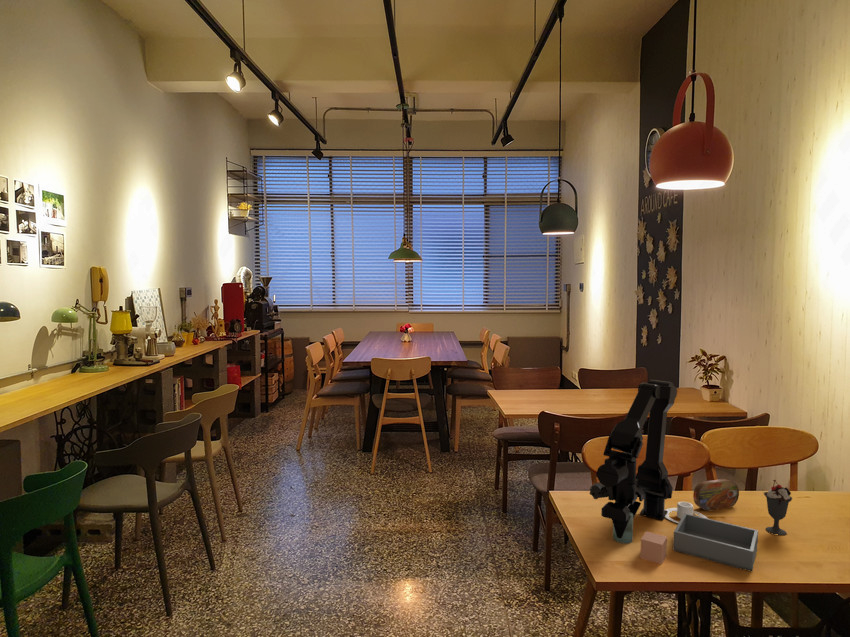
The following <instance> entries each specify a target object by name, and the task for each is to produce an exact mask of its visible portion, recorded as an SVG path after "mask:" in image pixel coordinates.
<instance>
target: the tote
mask: <svg viewBox="0 0 850 637" xmlns="http://www.w3.org/2000/svg"><path fill="white" fill-rule="evenodd" d="M707 518H708V517H707ZM707 518H703V517H699V516H697V515H695V514H693V515H690V514H686V513H684V515H683V516H682V518H681V519H680V520H679V521H678V522H679V523H677V525H676V527H675V528H674V531H673V541H672V542H673V543H672V545H673V546H672V551H675V552H677V553H680V554H681V553H682V554H685V555H688V556H693V557H695V558H700V559H704V560H707V561H711V562H714V563H718V564H721V565H725V566H728V567H732V568H733V567H734V568H737V569H740V568H741V570H743V569H746V570H745V571H747V570H750V571H749V572H751V571H752V572H753V570H754V566H753V565H755V561H756V557H757V553H756V552H757V551H758V538H759V530H758V529H755V528H749V527H746V526H741V525H737V524H732V523H729V522H724V521H720V520H715V519H712V518H711V519H710V518H708V519H707Z"/></svg>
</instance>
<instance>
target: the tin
mask: <svg viewBox="0 0 850 637" xmlns="http://www.w3.org/2000/svg"><path fill="white" fill-rule="evenodd" d="M739 496H740V490H739V487H738V485H737V484H736V482H734V481H732V480H728V479H725V478H719V479H713V480H706V481H705V480H704V481H700V482H699V483H698V484H696V486H695V487H694V489H693V496H692V497H693V502H694V504H695V505H696V506H697V507H698V508H699V509H702V510H704V511H706V512H710V511H709V510H712V511H718V510H723V509H724V508H725V509H730V508H732V507H733V506H736V503H738V500H739ZM717 509H718V510H717Z"/></svg>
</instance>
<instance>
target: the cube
mask: <svg viewBox="0 0 850 637" xmlns="http://www.w3.org/2000/svg"><path fill="white" fill-rule="evenodd" d="M667 548H668V536H666V535H661V534H657V533H653V532H650V531H645V532H644V534H643V535H642V536H641V537H640V559H642V560H646V561H648V562H653V563H656V564H659V563H660V564H659V565H662V564H663V563H664V561H665V559H666V557H667V552H668V550H667Z"/></svg>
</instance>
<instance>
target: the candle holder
mask: <svg viewBox="0 0 850 637" xmlns="http://www.w3.org/2000/svg"><path fill="white" fill-rule="evenodd" d="M676 506H677V507H670V508H666V509H665V510H666V511H668V513H667V514H666V516H665V519H667V520H669V521H670V522H673V523H675V524H678V523H679V522H680V521H678V520H675V519H674V518H672V517H669V516H670V514H671V513H673V512H672V511H675V512H676V517H677V518H679V519H680V520H681V518H682V516H683V515H684V513H686V514H690V515H695V514H697V515H698V516H700V517H703V518H707V519H709V518H708V517H707V516H706V515H704V514H703V513H701V512H699V511H697V510H694V505H693V504H692V503H690V502H688V501H678V502H677V505H676ZM670 512H671V513H670ZM669 513H670V514H669ZM693 513H694V514H693ZM697 515H696V516H697Z"/></svg>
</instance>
